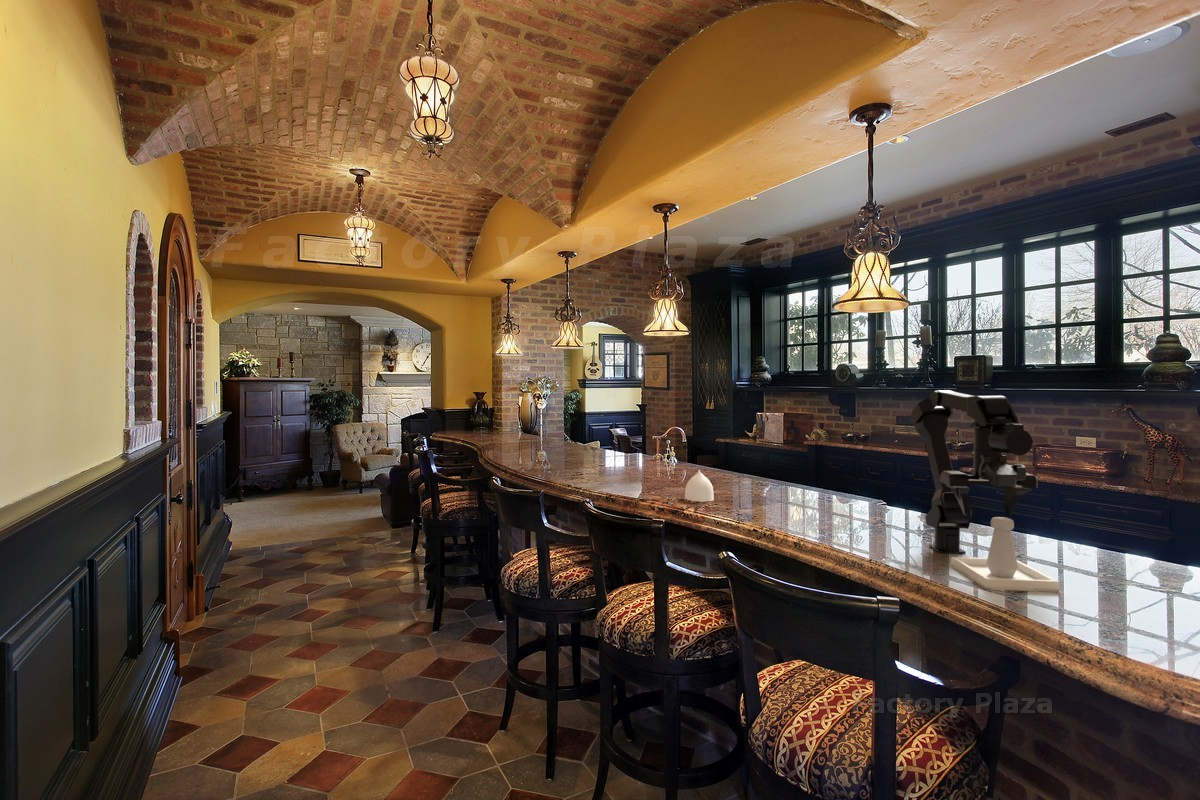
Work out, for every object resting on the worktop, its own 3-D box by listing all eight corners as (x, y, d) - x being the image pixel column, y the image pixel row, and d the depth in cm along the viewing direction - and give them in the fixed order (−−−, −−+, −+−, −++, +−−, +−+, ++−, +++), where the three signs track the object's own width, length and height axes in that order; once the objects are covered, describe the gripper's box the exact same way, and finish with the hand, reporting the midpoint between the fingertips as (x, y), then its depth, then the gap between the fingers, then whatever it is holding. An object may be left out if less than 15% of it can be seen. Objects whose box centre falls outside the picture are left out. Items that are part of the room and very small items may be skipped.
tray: (951, 566, 139) (951, 556, 139) (1014, 568, 137) (1015, 558, 137) (986, 589, 123) (986, 579, 123) (1058, 592, 121) (1059, 581, 121)
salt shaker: (987, 569, 134) (988, 513, 134) (1018, 574, 131) (1018, 517, 130) (985, 576, 130) (985, 518, 129) (1016, 581, 126) (1017, 522, 126)
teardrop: (683, 497, 227) (683, 466, 226) (711, 497, 226) (711, 466, 226) (686, 503, 216) (686, 471, 215) (716, 503, 215) (716, 470, 215)
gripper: (961, 453, 129) (960, 523, 129) (1054, 454, 126) (1051, 525, 127) (939, 447, 140) (938, 511, 141) (1024, 448, 137) (1022, 513, 138)
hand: (986, 515), depth 136 cm, fingers open, 9 cm apart
